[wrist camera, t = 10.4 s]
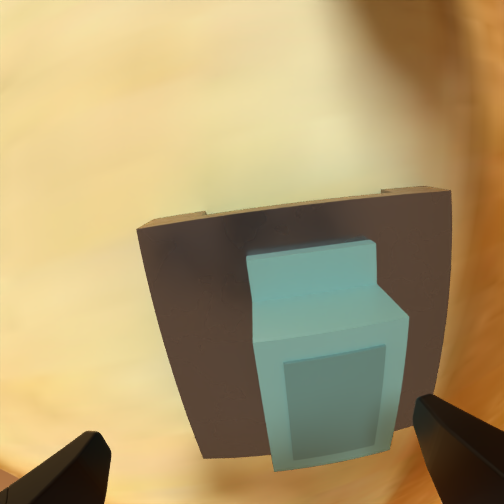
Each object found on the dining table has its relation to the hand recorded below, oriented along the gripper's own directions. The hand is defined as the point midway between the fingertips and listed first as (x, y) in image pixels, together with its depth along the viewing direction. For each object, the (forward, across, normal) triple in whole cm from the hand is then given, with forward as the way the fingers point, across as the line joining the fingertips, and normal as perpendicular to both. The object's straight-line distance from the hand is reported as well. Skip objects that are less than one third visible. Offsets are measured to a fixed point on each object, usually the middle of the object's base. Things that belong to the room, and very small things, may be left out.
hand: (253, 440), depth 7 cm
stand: (+12, -3, +4) cm, 13 cm away
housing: (+9, -3, +4) cm, 10 cm away
